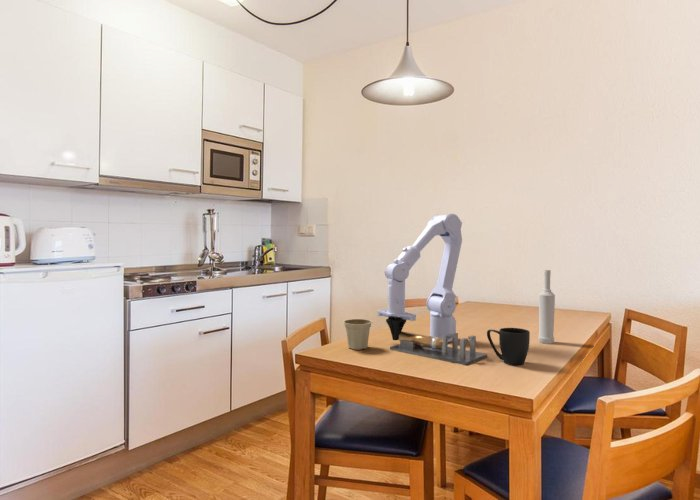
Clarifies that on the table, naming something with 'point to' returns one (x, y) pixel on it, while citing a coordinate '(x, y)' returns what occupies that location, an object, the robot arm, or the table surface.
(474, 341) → the collar
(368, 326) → the flower pot
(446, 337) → the collar
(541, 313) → the bottle
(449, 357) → the firebox plate
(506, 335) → the mug
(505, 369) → the table surface
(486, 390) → the table surface
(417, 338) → the copper tube
